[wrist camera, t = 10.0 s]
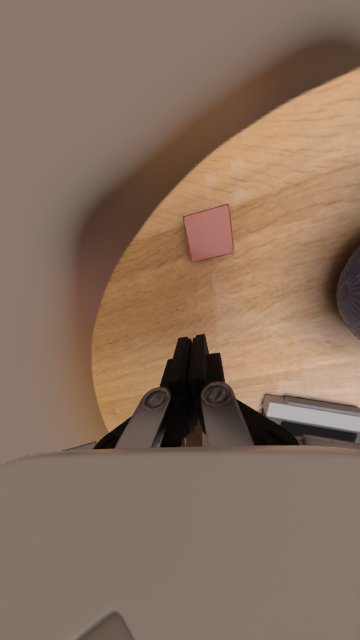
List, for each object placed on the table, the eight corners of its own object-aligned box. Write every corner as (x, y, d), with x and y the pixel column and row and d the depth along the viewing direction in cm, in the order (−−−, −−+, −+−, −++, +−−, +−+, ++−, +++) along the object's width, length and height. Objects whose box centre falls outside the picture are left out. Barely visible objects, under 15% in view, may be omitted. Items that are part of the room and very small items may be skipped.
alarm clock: (246, 470, 34) (276, 416, 26) (242, 443, 38) (267, 390, 30) (342, 488, 32) (404, 438, 25) (327, 459, 36) (376, 408, 29)
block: (193, 259, 23) (191, 262, 19) (186, 221, 21) (182, 216, 17) (228, 250, 22) (234, 252, 18) (223, 210, 21) (228, 203, 17)
